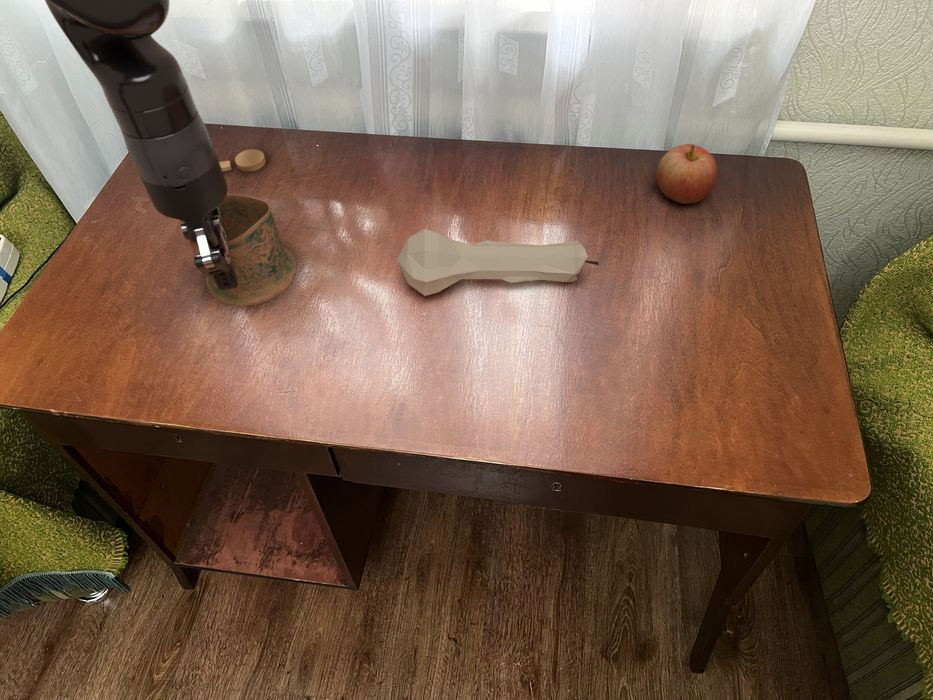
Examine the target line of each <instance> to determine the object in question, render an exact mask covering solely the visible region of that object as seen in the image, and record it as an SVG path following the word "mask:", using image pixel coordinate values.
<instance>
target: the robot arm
mask: <svg viewBox="0 0 933 700" xmlns="http://www.w3.org/2000/svg"><path fill="white" fill-rule="evenodd" d="M44 1H45V4H46V6H47V8H48V9H49V11H50V13H51V15H52V17H53V19H54V20H55V21H56V23H57V25H58V26H59V28H60V29H61V32H63V34H64V35H65V37H66V38H67V40H68V41H69V42H70V44H71V45H72V47H73V48H74V50H75V51H76V53H77V54H78V56H79V57H80V59H81V60H82V62H83V63H84V64H85V65H86V67H87V68H88V69H89V71H90V72H91V73H92V75H93V76H94V77H95V79H96V81H97V82H98V83H99V85H100V87H101V89H102V92H103V94H104V97H105V99H106V101H107V104H108V105H109V108H110V110H111V112H112V115H113V116H114V119H115V120H116V122H117V125H118V126H119V129H120V132H121V133H122V136H123V139H124V143H125V146H126V149H127V152H128V154H129V156H130V159H131V161H132V163H133V165H134V168H135V169H136V171H137V173H138V176H139V177H140V180H141V181H142V184H143V186H144V188H145V191H146V192H147V194H148V196H149V198H150V200H151V203H152V205H153V207H154V208H155V210H156V211H157V213H159V214H161V215H162V216H164V217H166V218H170V219H174V220H178V221H180V220H181V221H180V223H179V225H180V230H181V232H182V234H183V237H184V238H185V240H187V241H188V242H189V243H190V245H191V248H192V249H193V252H194V254H195V256H194V257H193V265H194V266H195V267H196V269H197V270H198V271H200V272H201V273H203V274H204V275H205V276H211V275H213V276H214V279H215V281H216V283H217V286H218V288H219V289H220V290H227V289H232V288H236V287H237V286H238V281H237V275H236V273H235V270H234V268H233V265H232V263H231V260H230V257H229V256H228V255H229V252H230V251H229V248H228V245H227V240H226V238H227V237H226V230H225V227H224V224H223V222H222V219H221V211H220V207H219V205H220V204H221V203H222V202H223V201H224V199H225V197H226V195H227V194H228V190H229V189H228V183H227V180H226V178H225V174H224V172H222V169H221V166H220V163H219V162H220V161H219V158H218V155H217V153H216V150H215V148H214V147H215V146H214V145H213V141H212V139H211V136H210V133H209V131H208V128H207V127H206V124H205V122H204V121H203V119H202V117H201V115H200V113H199V111H198V108H197V106H196V104H195V100H194V98H193V95H192V93H191V90H190V87H189V84H188V82H187V79H186V77H185V75H184V74H185V73H184V71H183V69H182V67H181V65H180V64H179V62H178V60H177V59H176V57H175V56H174V55H173V54H172V53H171V52H170V51H169V50H167V49H166V48H165V47H163V46H162V45H161V44H160V43H159V42H158V41H157V40H156V39H155V38H154V37H153V36H152V35H153V34H155V33H156V32H158V31H159V30H160V29H161V28H162V26H163V25H164V23H165V22H166V20H167V18H168V15H169V10H170V0H44ZM182 221H183V222H182Z"/></svg>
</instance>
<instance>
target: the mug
mask: <svg viewBox="0 0 933 700" xmlns="http://www.w3.org/2000/svg"><path fill="white" fill-rule="evenodd" d="M219 207H220V211H221V219H222V222H223V224H224V227H225V230H226V237H227V238H226V240H227V245H228V248H229V251H230V252H229V255H228V256H229V257H230V260H231V263H232V265H233V268H234V270H235V273H236V275H237V281H238V286H237V287H236V288H232V289H227V290H220V289H219V288H218V286H217V283H216V281H215V279H214V276H213V275H211V276H207V275H205V283H206V287H207V289H208V292H209V294H211V296H212V297H213V298H214V299H216V300H217V301H219V302H220V303H222V304H224V305H228V306H233V307H252V306H257V305H261V304H264V303H266V302H269V301H271V300H273V299H275V298H277V297H278V296H280V295H281V294H282V293H284V292H285V291H286V290H288V288H289V287H290V285H291V284H292V283H293V281H294V279H295V277H296V274H297V263H296V259H295V256H294V255H293V253H292V251H290V250H289V249H288V248H287V247H285V246H283V245H284V244H283V243H282V240H281V237H280V233H279V231H278V227H277V225H276V222H275V218H274V216H273V213H272V208H271V205H270V203H269V202H268V201H266V200H264V199H261V198H258V197H254V196H249V195H246V194H245V195H244V194H240V193H239V194H237V193H234V194H233V193H232V194H231V193H227V195H226V197H225V199H224V201H223V202H222V203H221V204H220V205H219ZM179 221H180V222H181V223H183V221H181V220H179Z"/></svg>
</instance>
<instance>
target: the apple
mask: <svg viewBox="0 0 933 700" xmlns="http://www.w3.org/2000/svg"><path fill="white" fill-rule="evenodd" d="M655 175H656V181H657V185H658V187H659V189H660V191H661V192H662V194H663V195H664V196H665V197H666V198H668V199H670V200H672V201H674V202H676V203H679V204H684V205H686V204H694V203H697V202H700V201H702V200H704V199H705V198H706V197H708V195H710V193H711V192H712V191H713V189H714V187H715V185H716V182H717V176H718V165H717V161H716V159H715V157H714V156H713V155H712V154H711V153H710V152H709V151H708V150H707V149H705V148H704V147H701V146H699V145H696V144H693V143H687V144H681V145H677V146H674V147H673V148H670V150H668V151H667V152H666V153H665V154H663V156H662V157H661V159H660V160H659V161H658V164H657V167H656V173H655Z"/></svg>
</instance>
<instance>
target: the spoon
mask: <svg viewBox="0 0 933 700" xmlns="http://www.w3.org/2000/svg"><path fill="white" fill-rule="evenodd" d="M266 162H267V160H266V156H265V153H264V152H263V151H262V150H260V149H257V148H256V149H255V148H251V149H246V150H245V149H244V150H243V151H240V152H239V153H238V154H237V155H236V156H235V158H234V163H235V165H236V168H237V169H238V170H239V171H241V172H245V173H252V172H256V171H258V170H260V169H262V168H264V166H265V165H266ZM219 163H220V166H221V169H222V172H223V173H224V172H230V171H232V170H233V169H232V164H231V161H230V160H224V161H219Z"/></svg>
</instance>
